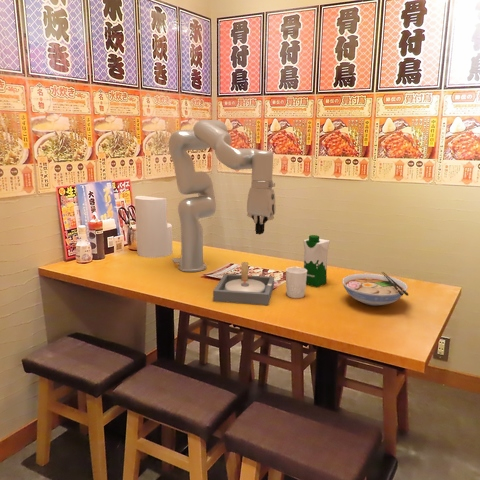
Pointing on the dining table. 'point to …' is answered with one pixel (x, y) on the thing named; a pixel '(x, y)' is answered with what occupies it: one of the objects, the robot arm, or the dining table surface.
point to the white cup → (296, 281)
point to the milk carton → (316, 260)
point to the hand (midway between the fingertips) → (259, 233)
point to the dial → (245, 282)
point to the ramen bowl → (374, 288)
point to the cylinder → (152, 227)
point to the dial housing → (242, 296)
